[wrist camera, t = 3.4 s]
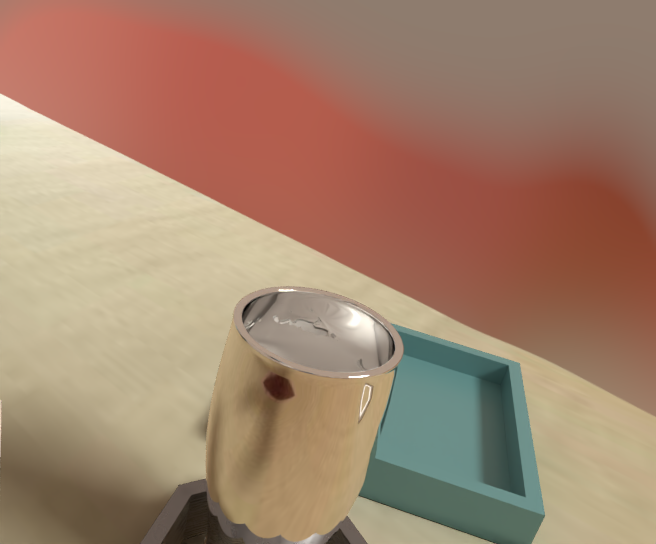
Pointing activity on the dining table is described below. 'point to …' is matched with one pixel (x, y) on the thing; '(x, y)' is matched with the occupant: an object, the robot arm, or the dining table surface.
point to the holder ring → (191, 519)
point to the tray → (459, 443)
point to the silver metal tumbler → (296, 415)
